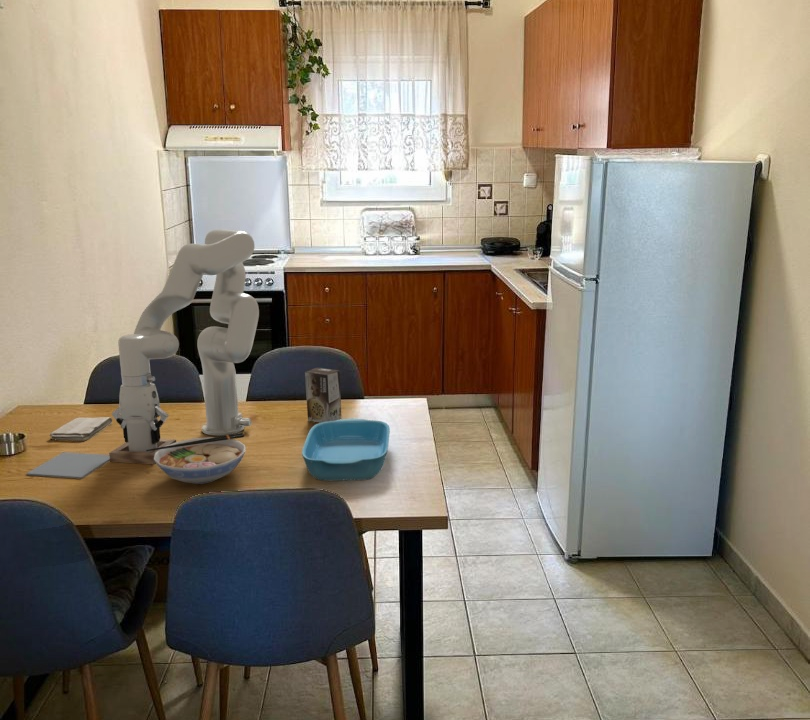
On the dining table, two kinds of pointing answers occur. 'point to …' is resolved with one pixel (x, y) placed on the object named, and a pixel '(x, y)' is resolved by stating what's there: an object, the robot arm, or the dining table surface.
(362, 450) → the casserole dish
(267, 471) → the dining table surface
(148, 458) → the shallow wooden tray
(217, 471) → the ramen bowl
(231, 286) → the robot arm
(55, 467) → the grey mat
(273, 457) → the dining table surface
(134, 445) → the can
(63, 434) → the washcloth
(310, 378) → the coffee box
